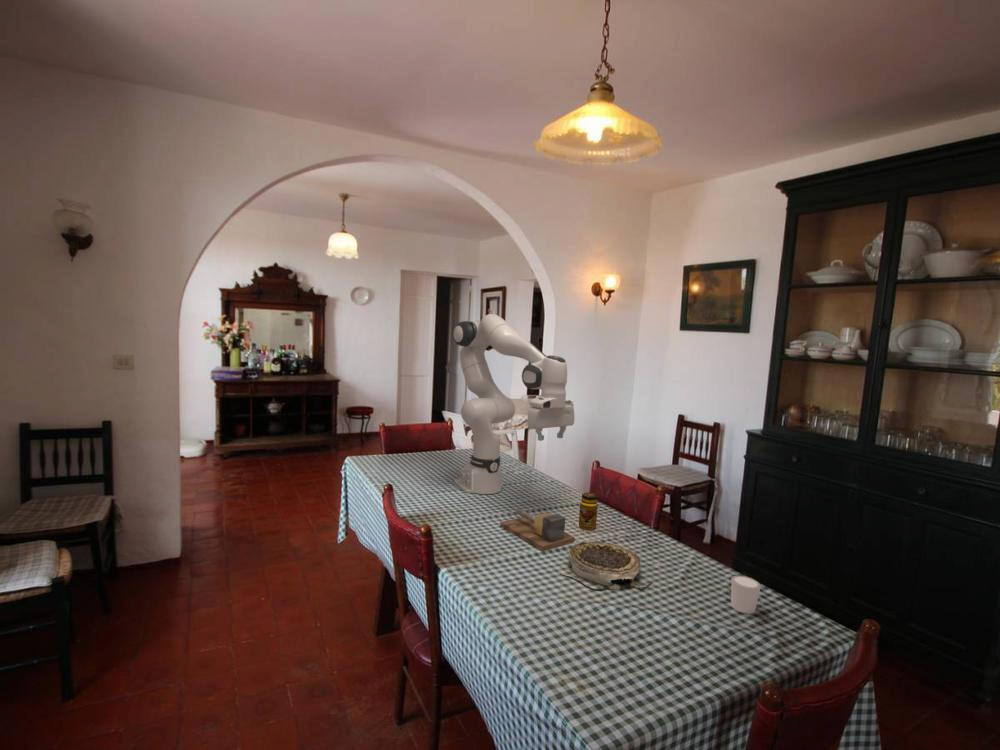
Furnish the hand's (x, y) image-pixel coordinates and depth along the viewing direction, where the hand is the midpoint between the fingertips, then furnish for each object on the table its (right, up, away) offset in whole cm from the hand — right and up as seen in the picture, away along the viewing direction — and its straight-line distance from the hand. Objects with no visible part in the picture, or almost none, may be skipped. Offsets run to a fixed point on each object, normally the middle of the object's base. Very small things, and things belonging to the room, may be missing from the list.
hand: (550, 439), depth 182 cm
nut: (-4, -29, -16) cm, 33 cm away
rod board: (-6, -30, -13) cm, 33 cm away
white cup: (+45, -37, -52) cm, 78 cm away
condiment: (+12, -31, -4) cm, 33 cm away
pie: (+12, -34, -34) cm, 50 cm away
